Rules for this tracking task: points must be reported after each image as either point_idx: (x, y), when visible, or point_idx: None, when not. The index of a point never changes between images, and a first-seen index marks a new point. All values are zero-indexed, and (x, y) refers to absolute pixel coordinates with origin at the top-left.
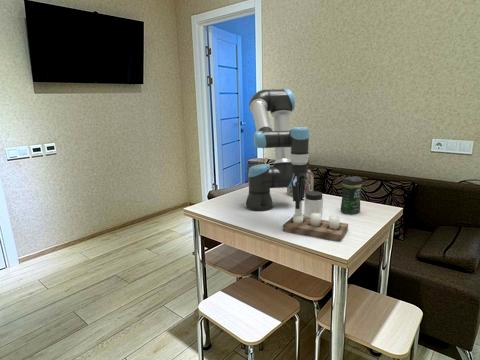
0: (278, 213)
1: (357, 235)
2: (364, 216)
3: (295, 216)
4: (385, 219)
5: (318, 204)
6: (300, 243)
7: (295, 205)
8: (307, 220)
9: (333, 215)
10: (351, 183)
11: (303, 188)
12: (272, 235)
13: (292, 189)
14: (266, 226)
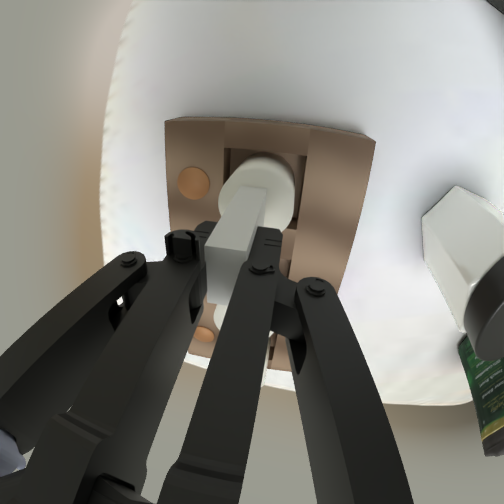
0: (458, 36)
1: (270, 369)
2: (436, 372)
3: (219, 194)
4: (408, 401)
5: (451, 309)
6: (112, 228)
7: (219, 224)
8: (300, 238)
9: (262, 378)
10: (487, 445)
11: (308, 436)
12: (118, 97)
13: (6, 353)
14: (213, 11)
